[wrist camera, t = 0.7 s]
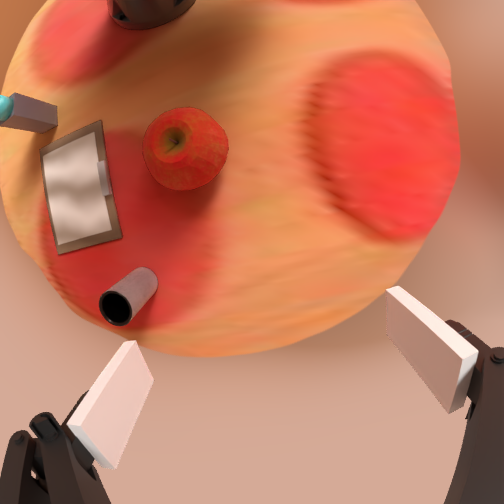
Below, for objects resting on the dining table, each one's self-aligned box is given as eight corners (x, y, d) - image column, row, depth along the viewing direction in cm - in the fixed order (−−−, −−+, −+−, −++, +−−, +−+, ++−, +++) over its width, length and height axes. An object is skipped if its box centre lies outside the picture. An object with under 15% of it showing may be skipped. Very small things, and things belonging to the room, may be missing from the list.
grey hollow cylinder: (136, 260, 39) (104, 283, 29) (163, 276, 40) (137, 304, 30) (126, 286, 40) (94, 313, 30) (151, 301, 41) (125, 333, 31)
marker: (41, 114, 34) (-12, 101, 21) (56, 106, 34) (3, 89, 20) (42, 133, 35) (-13, 124, 21) (57, 125, 34) (2, 112, 21)
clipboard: (40, 149, 35) (36, 149, 34) (102, 120, 35) (98, 118, 33) (59, 254, 39) (55, 255, 38) (122, 237, 38) (119, 238, 37)
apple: (242, 133, 36) (239, 113, 25) (209, 203, 38) (194, 209, 27) (175, 107, 35) (150, 82, 24) (143, 174, 37) (109, 171, 26)
